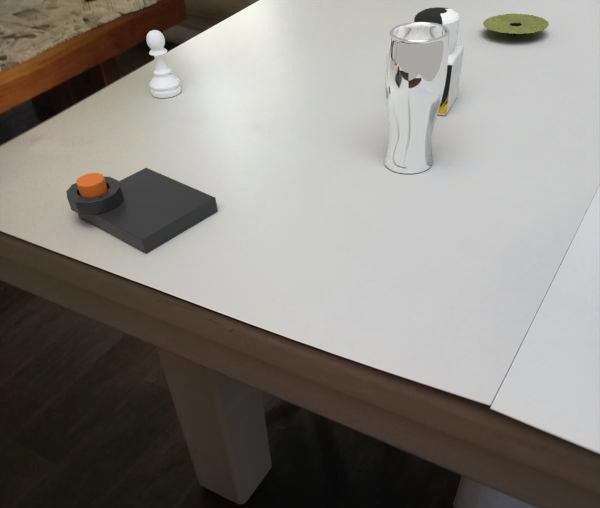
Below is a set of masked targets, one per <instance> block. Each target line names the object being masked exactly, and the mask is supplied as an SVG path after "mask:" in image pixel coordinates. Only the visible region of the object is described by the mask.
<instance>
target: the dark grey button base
mask: <svg viewBox="0 0 600 508" xmlns="http://www.w3.org/2000/svg"><path fill="white" fill-rule="evenodd" d="M104 179H105V182H106V185H107V188H108V190H107V192H106V193H104V194H102V195H100V196H95V197H82V196H81V195H80V193H79V190H78V187H77V184H76V182H75V183H73V184H71V185H70V186H69V188H68V189H67V190H66V198H67V200H68V204H69V206H70V210H71V211H72V212H74V213H76V214H77V216H78V218H79V219H81V220H82V221H85V222H86V223H88V224H90V225H92V226H93V227H95V228H97V229H99V230H101V231H103V232H105V233H107V234H108V235H110V236H112V237H114V238H116V239H118V240H120V241H122V242H123V243H126V244H127V245H129V246H130V247H132V248H134V249H136V250H138V251H140V252H142V253H143V254H145V255H148V254H149V253H151V252H152V251H154V250H156V249H157V248H159V247H161V246H162V245H164V244H166V243H167V242H169V241H172V239H175V238H177V236H179V235H181V234H183V233H184V232H187V230H189V229H191V228H193V227H194V226H196V225H198V224H200V223H202V222H203V221H205V220H207V219H208V218H210V217H211V216H214V215H215V214H216V213H218V212H219V210H218V204H217V198H216V197H215V196H213V195H210V194H209V193H206V192H204V191H202V190H199V189H196V188H195V187H192V186H190V185H187V184H186V183H183V182H180V181H178V180H176V179H173V178H171V177H169V176H167V175H164V174H162V173H160V172H158V171H155V170H153V169H151V168H149V167H144V168H143V169H140V170H138V171H137V172H135V173H133V174H131V175H129V176H127V177H124V178H122V179H121V180H118V179H116V178H113V177H111V176H104Z"/></svg>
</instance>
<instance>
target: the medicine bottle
mask: <svg viewBox="0 0 600 508" xmlns="http://www.w3.org/2000/svg"><path fill="white" fill-rule="evenodd" d="M460 21H461V17H460V14H459V13H458V12H457V11H455V10H454V9H452V8H449V7H440V6H439V7H438V6H437V7H436V6H435V7H429V8H424V9H423V10H421V11H419V12H417V13H416V15H415V16H414V19H413V22H432V23H438V24H441V25H444V26H446V27H448V28H449V30H450V33H449V53H448V67H447V75H446V82H445V87H444V92H443V96H442V100H441V103H440V107H439V110H438V114H437V116H443V117H444V116H447V114H448V113H449V111H450V109H451V108H452V106H453V104H454V103H455V101H456V100H457V98H458V96H459V95H458V94H459V87H460V80H461V72H462V65H463V56H464V49H465V48H464V46H463V45H461V44H457V43H458V35H459V27H460Z"/></svg>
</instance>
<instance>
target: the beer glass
mask: <svg viewBox="0 0 600 508" xmlns="http://www.w3.org/2000/svg"><path fill="white" fill-rule="evenodd" d="M449 33H450V30H449V28H448V27H446V26H444V25H441V24H438V23H432V22H414V21H413V22H412V21H411V22H405V23H400V24H397V25H395V26H394V27H392V28H391V29H390V30H389V37H388V46H387V53H386V62H385V82H384V83H385V98H386V109H387V118H388V126H389V134H388V135H389V136H388V144H387V148H386V153H385V157H384V165H385V167H386V168H387V169H389V170H390V171H391V172H394V173H398V174H402V175H415V174H420V173H423V172H425V171H428V170H429V169H430V168H431V167H432V165H433V163H434V162H433V160H434V157H433V135H434V134H433V133H434V128H435V124H436V121H437V117H438V115H437V114H438V110H439V107H440V103H441V100H442V96H443V92H444V87H445V82H446V75H447V67H448V53H449Z"/></svg>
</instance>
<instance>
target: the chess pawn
mask: <svg viewBox="0 0 600 508" xmlns="http://www.w3.org/2000/svg"><path fill="white" fill-rule="evenodd" d="M145 39H146V44H147V46H148V48H149V49H150V50H149V52H148V55H150V56H152V57H153V59H154V66H155V67H154V69H153V71H152V74H153V77H152V79H151V80H150V82H149V88H150V94H151V95H152V97H153V98H158V99H169V98H173V97H176V96H178V95H179V94H181V93H182V84H181V80H180V78H179V77H177V76H176V75H174V74H173V73H172V68H171V67H169V66H168V64H167V62H166V58H165V55H166V54H167V53H168V49H166V48H165V45H166V38H165V36H164V34H163V33H162V32H161V31H160V30H157V29H152V30H149V31H148V33H147V34H146V37H145Z"/></svg>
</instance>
